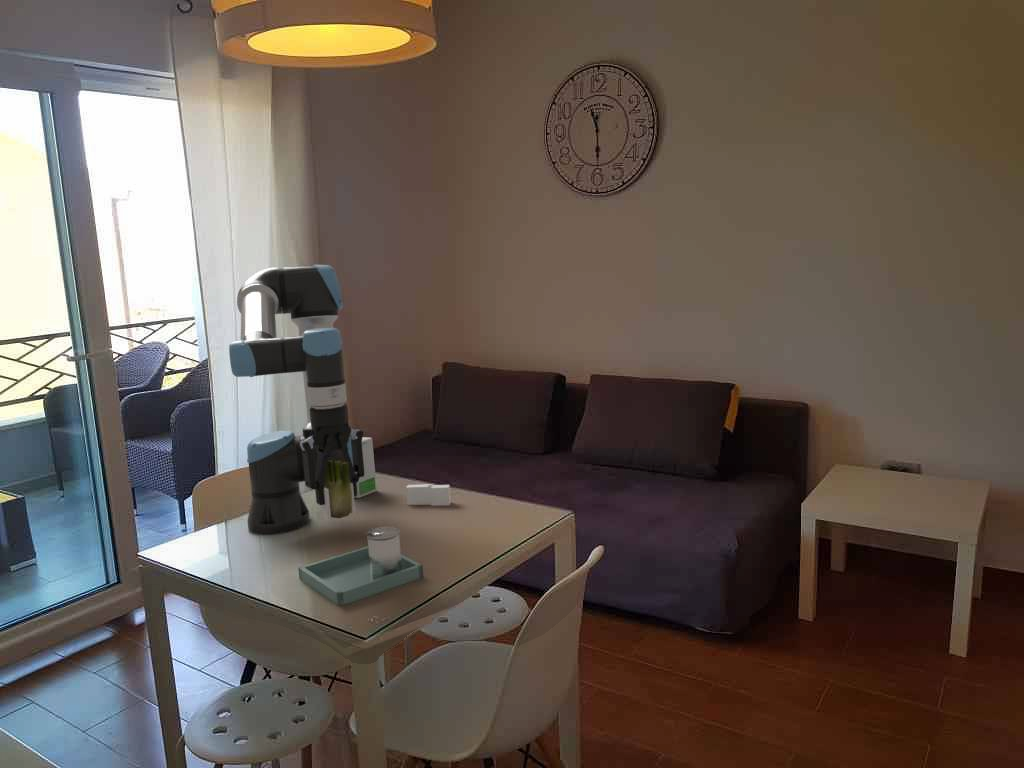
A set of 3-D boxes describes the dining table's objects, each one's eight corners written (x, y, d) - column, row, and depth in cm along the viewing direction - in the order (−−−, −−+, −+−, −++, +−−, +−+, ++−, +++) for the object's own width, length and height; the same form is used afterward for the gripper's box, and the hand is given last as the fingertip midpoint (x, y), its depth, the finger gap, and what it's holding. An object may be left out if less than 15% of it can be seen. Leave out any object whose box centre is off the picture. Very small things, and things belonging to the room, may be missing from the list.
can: (364, 579, 168) (360, 532, 167) (392, 570, 172) (388, 524, 171) (380, 588, 163) (376, 540, 161) (409, 579, 167) (405, 531, 165)
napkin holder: (395, 506, 219) (393, 486, 218) (427, 495, 227) (425, 475, 226) (433, 517, 209) (431, 495, 208) (465, 505, 217) (463, 484, 216)
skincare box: (358, 499, 225) (353, 444, 223) (340, 496, 229) (335, 442, 226) (378, 490, 232) (373, 437, 230) (360, 487, 236) (355, 435, 233)
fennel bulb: (356, 516, 169) (351, 460, 167) (336, 523, 166) (331, 465, 164) (340, 511, 173) (335, 456, 171) (320, 517, 170) (315, 461, 168)
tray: (300, 583, 170) (298, 567, 170) (380, 557, 182) (378, 542, 181) (339, 611, 157) (338, 593, 156) (423, 581, 168) (422, 565, 167)
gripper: (294, 415, 157) (306, 531, 161) (376, 400, 168) (385, 509, 172) (278, 410, 163) (290, 522, 167) (358, 396, 174) (368, 501, 178)
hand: (338, 515), depth 169 cm, fingers closed on fennel bulb, 5 cm apart
